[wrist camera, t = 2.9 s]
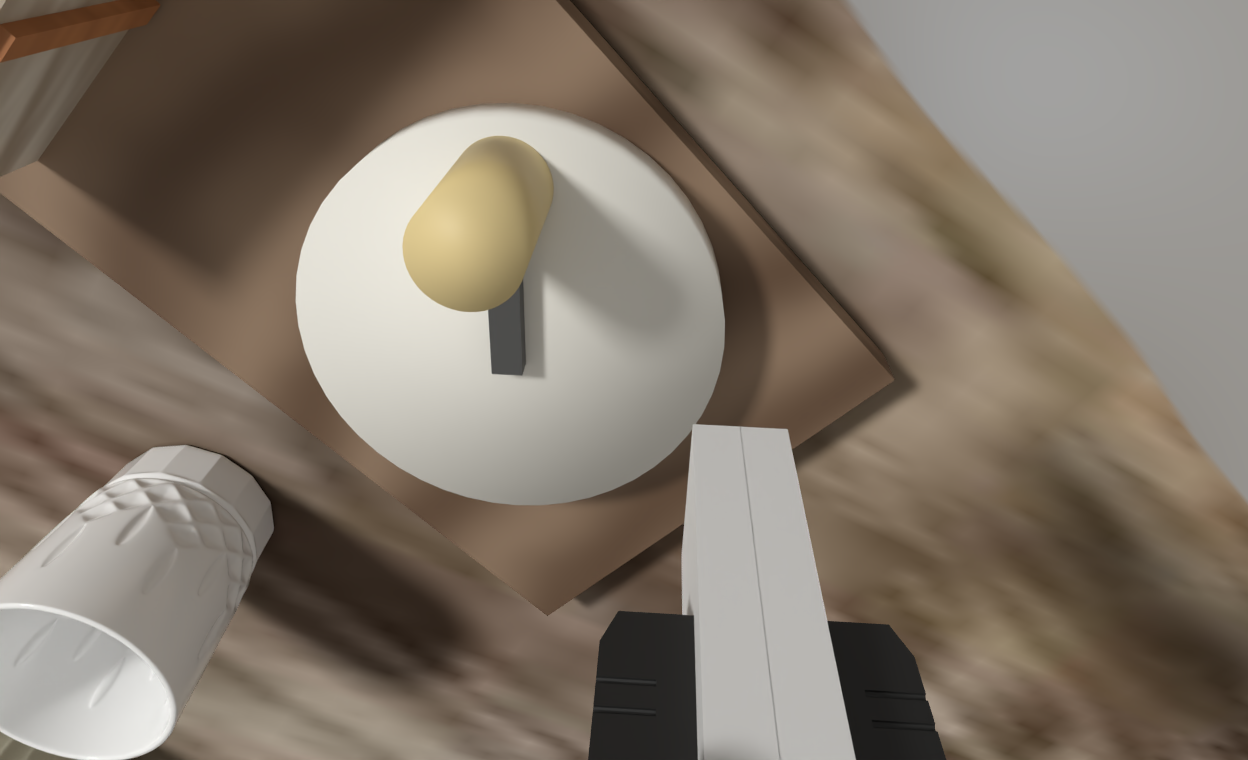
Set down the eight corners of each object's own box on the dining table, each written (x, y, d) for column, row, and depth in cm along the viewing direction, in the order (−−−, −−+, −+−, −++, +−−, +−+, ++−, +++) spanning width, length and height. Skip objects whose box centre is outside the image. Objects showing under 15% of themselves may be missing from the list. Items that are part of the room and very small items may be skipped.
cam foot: (705, 482, 33) (713, 629, 26) (347, 463, 33) (268, 603, 27) (741, 112, 26) (764, 187, 19) (286, 93, 26) (158, 160, 20)
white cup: (323, 508, 37) (218, 694, 29) (230, 597, 40) (110, 790, 32) (164, 398, 35) (-3, 566, 26) (78, 502, 38) (-97, 683, 29)
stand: (883, 353, 32) (950, 501, 24) (552, 583, 39) (523, 757, 31) (305, -298, 23) (119, -393, 15) (6, 149, 30) (-229, 241, 22)
